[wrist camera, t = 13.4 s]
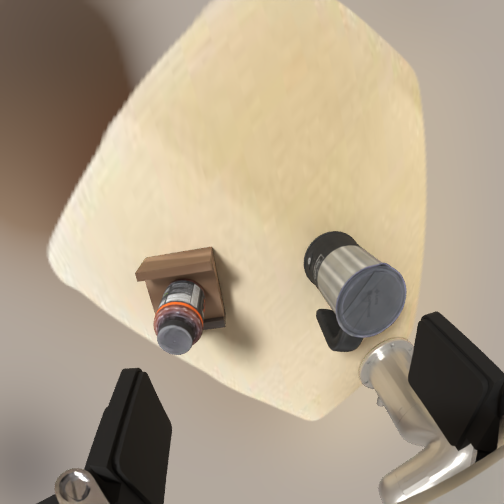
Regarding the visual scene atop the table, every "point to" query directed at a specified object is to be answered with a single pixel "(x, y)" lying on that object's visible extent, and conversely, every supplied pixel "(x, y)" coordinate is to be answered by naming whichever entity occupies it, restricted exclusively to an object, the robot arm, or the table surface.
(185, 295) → the supplement bottle
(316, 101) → the table surface
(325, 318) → the milk frother
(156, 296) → the shelf
